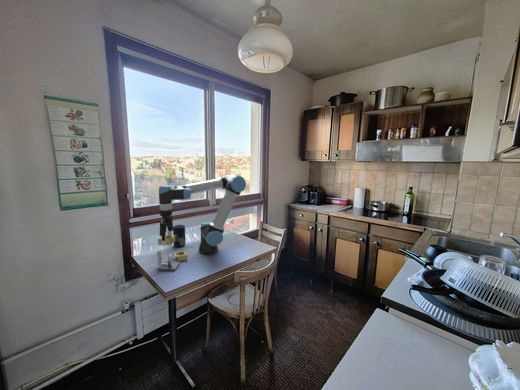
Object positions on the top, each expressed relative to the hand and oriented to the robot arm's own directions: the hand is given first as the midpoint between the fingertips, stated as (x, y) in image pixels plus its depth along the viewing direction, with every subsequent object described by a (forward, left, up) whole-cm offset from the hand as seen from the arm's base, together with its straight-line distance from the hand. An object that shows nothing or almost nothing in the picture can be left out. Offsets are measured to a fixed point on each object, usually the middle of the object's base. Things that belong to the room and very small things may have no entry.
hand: (167, 242), depth 148 cm
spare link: (-5, -11, -16) cm, 20 cm away
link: (0, 0, 0) cm, 0 cm away
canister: (+4, -36, -17) cm, 39 cm away
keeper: (-1, +2, -16) cm, 17 cm away
